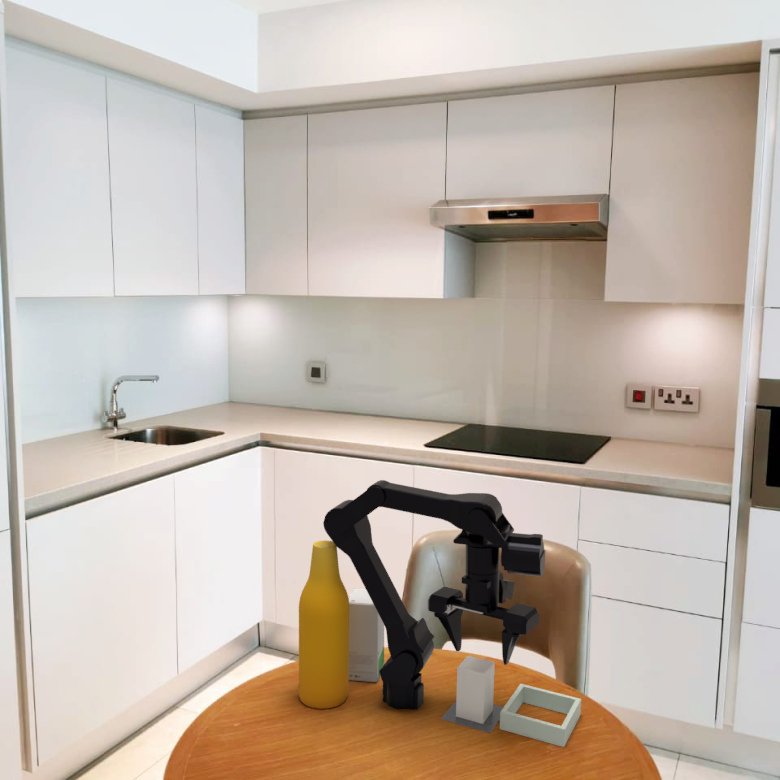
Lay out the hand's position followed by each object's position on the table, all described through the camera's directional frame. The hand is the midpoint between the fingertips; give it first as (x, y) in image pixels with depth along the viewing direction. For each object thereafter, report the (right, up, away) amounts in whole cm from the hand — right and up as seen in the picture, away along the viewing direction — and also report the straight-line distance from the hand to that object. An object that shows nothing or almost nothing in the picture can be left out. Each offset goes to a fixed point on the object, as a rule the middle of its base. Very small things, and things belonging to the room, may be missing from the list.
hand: (481, 657), depth 135 cm
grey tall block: (-1, -11, +2) cm, 11 cm away
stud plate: (-1, -12, +3) cm, 12 cm away
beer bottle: (-28, -11, +9) cm, 31 cm away
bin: (+10, -12, 0) cm, 16 cm away
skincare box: (-21, -9, +19) cm, 30 cm away
